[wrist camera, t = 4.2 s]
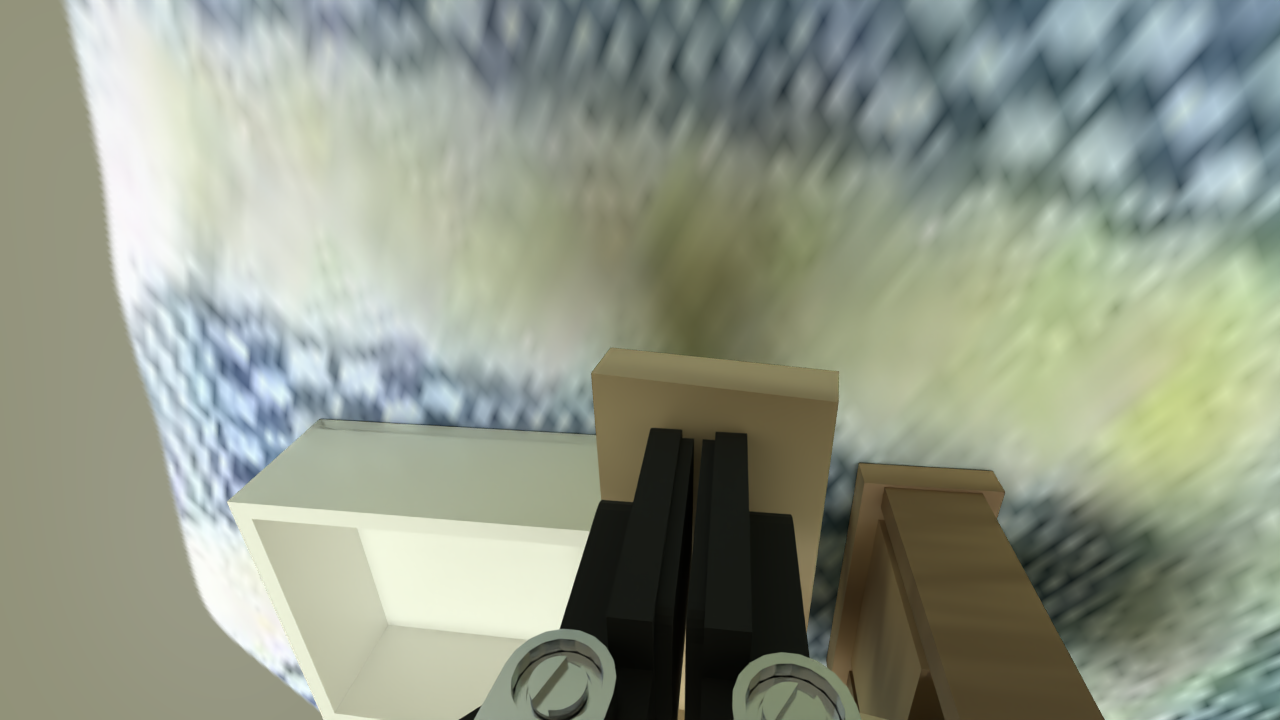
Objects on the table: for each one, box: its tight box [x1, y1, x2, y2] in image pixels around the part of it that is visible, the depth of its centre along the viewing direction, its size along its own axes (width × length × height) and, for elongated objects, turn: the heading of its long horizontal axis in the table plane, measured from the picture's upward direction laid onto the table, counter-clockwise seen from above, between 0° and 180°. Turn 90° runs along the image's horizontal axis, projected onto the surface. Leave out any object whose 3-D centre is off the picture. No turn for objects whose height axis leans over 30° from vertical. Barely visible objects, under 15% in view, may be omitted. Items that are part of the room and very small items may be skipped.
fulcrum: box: [826, 463, 1105, 720], centre depth 17 cm, size 10×4×9 cm, turn 2°
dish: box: [227, 419, 601, 720], centre depth 21 cm, size 11×12×4 cm
